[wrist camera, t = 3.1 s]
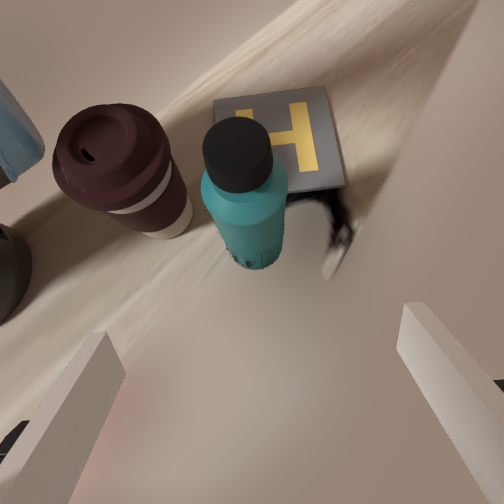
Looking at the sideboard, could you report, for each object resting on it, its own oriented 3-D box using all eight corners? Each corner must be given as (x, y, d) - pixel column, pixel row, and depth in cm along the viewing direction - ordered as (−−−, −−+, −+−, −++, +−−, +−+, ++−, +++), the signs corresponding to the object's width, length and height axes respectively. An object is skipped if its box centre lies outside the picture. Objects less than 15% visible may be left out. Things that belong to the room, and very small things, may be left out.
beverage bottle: (285, 225, 35) (300, 92, 16) (280, 278, 33) (291, 198, 14) (233, 221, 36) (188, 89, 17) (226, 273, 34) (166, 189, 15)
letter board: (220, 201, 37) (219, 198, 36) (214, 103, 41) (213, 99, 41) (344, 187, 36) (345, 184, 35) (323, 89, 41) (324, 84, 40)
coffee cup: (197, 172, 38) (149, 75, 24) (210, 240, 35) (164, 177, 21) (126, 189, 38) (35, 103, 24) (133, 258, 35) (35, 208, 21)
